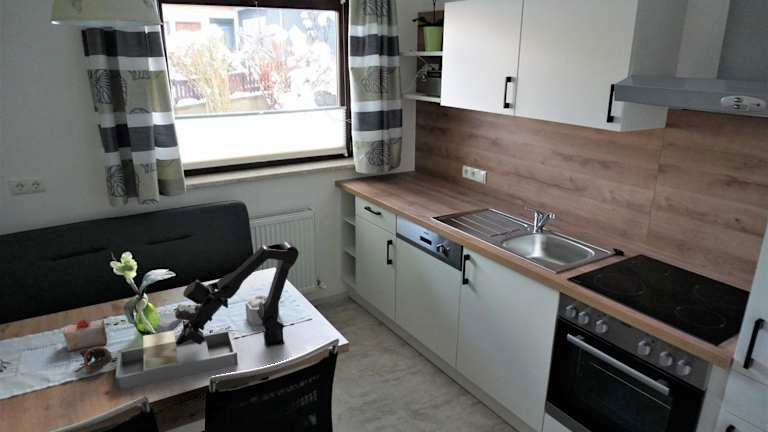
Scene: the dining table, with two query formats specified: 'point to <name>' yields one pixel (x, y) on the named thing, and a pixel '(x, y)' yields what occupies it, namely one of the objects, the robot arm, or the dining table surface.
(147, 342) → the birch block
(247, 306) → the lumpy-topped squat cylinder
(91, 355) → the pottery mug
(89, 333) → the food item
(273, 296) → the robot arm
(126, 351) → the grey shallow rectangular tray
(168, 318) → the stone block
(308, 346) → the dining table surface
